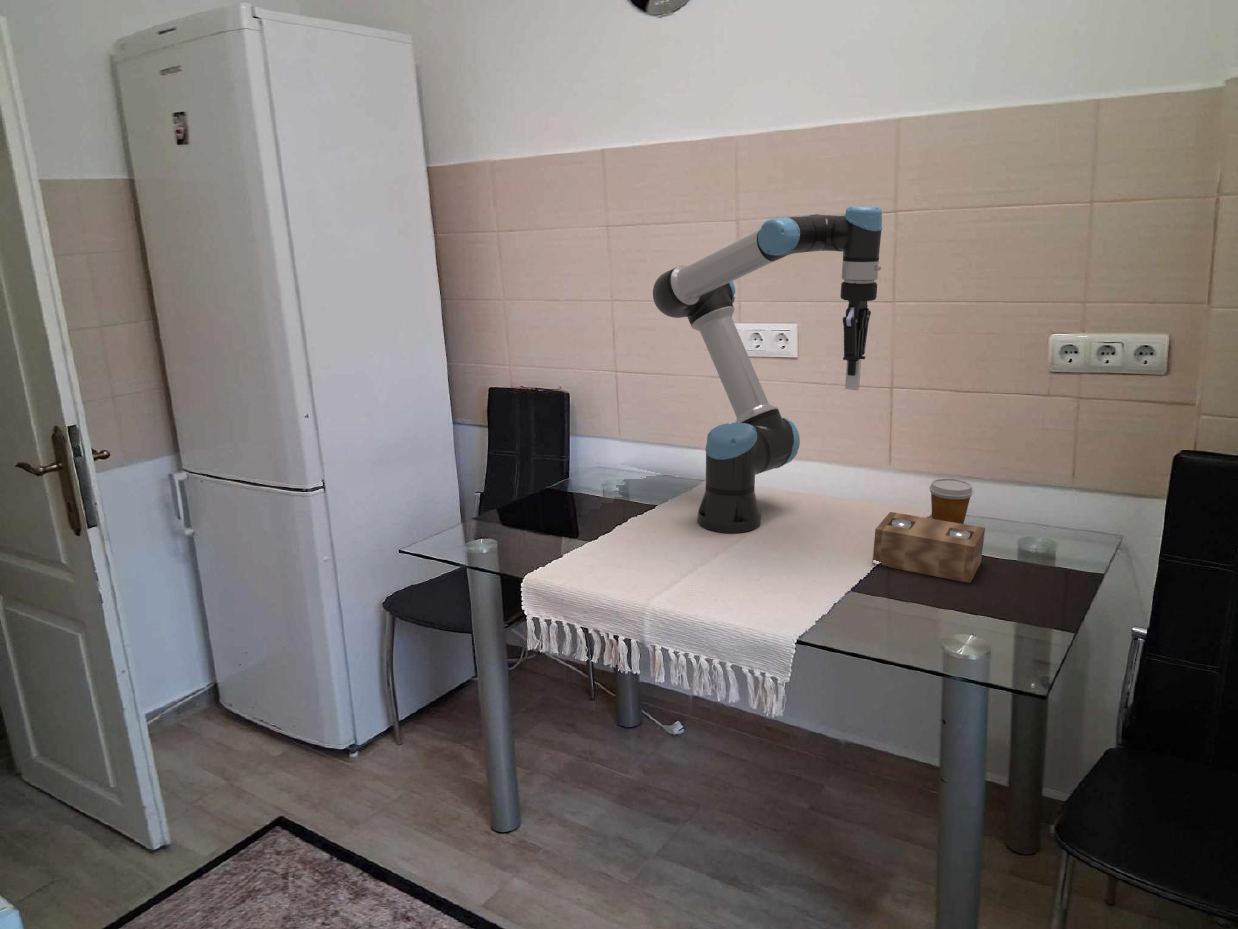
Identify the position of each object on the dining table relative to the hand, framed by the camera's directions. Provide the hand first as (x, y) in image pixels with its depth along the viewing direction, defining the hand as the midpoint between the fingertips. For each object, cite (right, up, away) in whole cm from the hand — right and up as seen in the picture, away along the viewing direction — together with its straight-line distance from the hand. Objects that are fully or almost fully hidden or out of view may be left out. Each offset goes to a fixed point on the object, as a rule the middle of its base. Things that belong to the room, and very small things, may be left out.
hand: (852, 388), depth 202 cm
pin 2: (+20, -39, -9) cm, 44 cm away
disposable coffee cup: (+25, -33, +10) cm, 42 cm away
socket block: (+14, -38, -6) cm, 41 cm away
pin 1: (+9, -37, -4) cm, 38 cm away
